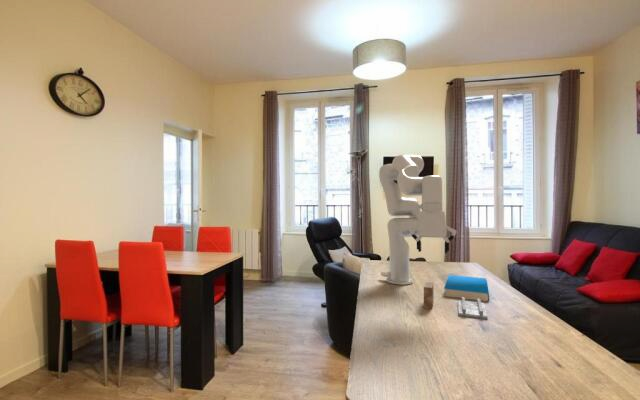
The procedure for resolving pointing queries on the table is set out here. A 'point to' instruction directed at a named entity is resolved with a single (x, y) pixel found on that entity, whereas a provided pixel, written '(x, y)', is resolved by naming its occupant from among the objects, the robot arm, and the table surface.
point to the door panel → (428, 295)
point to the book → (467, 287)
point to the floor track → (472, 309)
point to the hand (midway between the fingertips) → (432, 252)
